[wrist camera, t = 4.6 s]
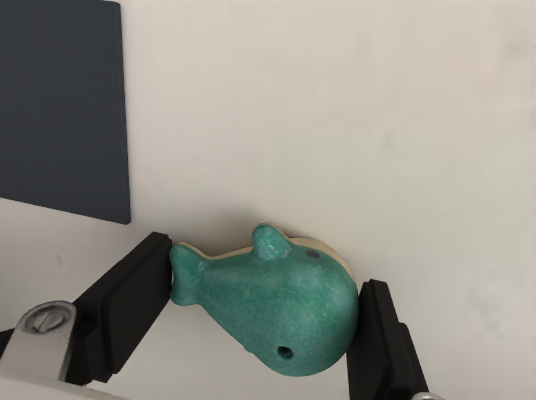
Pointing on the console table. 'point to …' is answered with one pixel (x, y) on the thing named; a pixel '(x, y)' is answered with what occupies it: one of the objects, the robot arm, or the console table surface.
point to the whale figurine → (274, 298)
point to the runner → (64, 107)
